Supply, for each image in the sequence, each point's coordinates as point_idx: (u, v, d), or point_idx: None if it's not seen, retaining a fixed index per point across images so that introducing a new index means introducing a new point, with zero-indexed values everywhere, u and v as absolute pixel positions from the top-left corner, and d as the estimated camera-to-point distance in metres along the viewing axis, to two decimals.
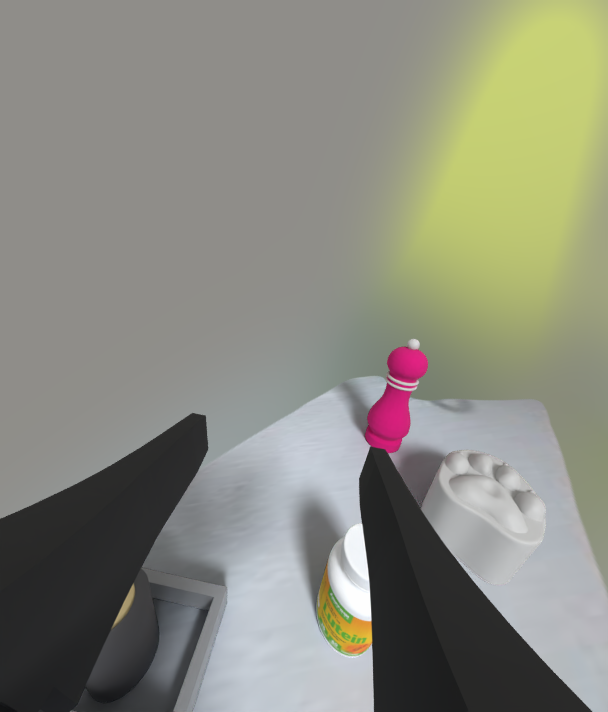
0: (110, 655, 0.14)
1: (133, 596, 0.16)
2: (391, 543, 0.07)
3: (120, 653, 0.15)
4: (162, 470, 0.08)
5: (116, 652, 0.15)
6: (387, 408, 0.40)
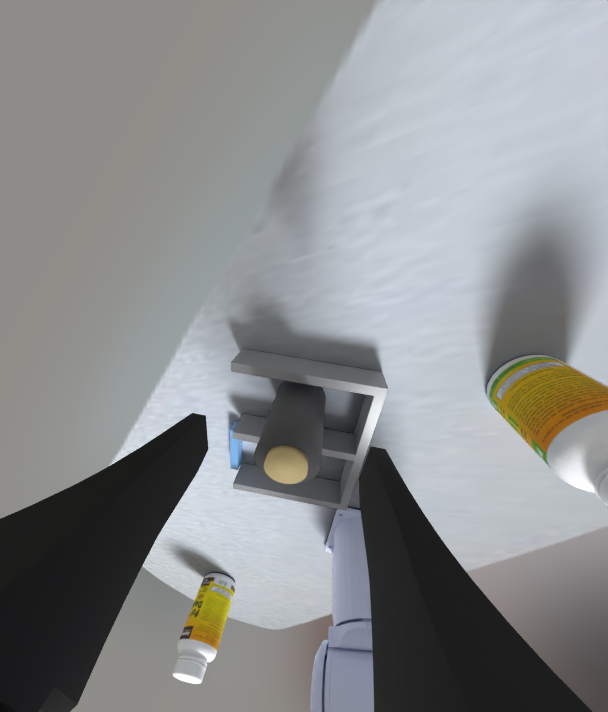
0: None
1: (307, 462, 0.15)
2: (391, 543, 0.07)
3: None
4: (162, 470, 0.08)
5: None
6: None
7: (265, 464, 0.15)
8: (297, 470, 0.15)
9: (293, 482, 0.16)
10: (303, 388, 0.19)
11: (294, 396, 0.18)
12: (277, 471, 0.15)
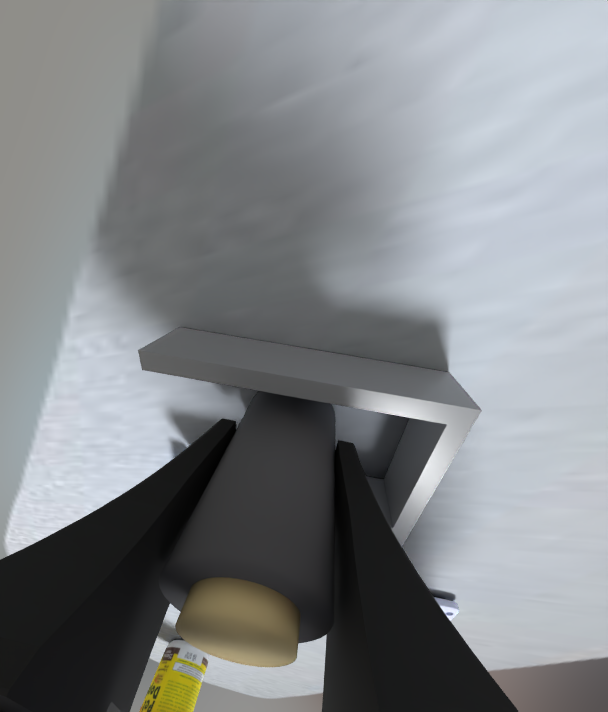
0: None
1: (295, 627, 0.05)
2: (344, 533, 0.07)
3: None
4: (201, 478, 0.08)
5: None
6: None
7: (179, 628, 0.05)
8: (268, 649, 0.05)
9: (260, 665, 0.06)
10: (294, 404, 0.10)
11: (273, 423, 0.09)
12: (214, 643, 0.06)
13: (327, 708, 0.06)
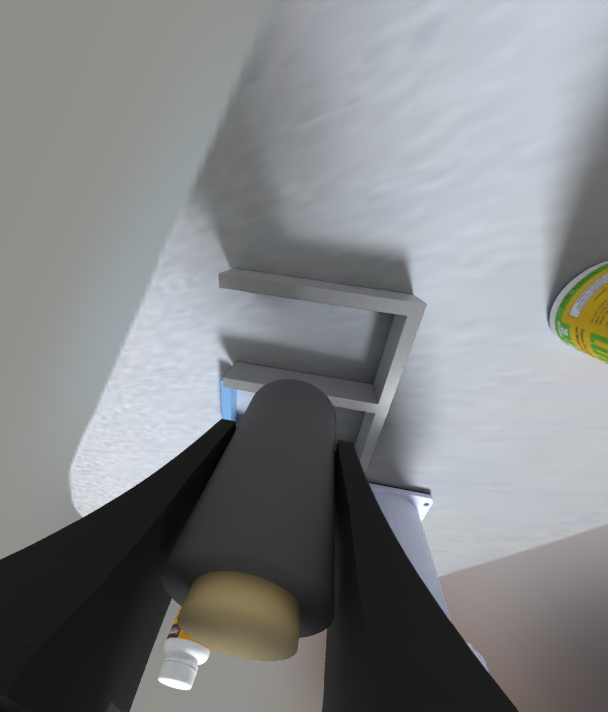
0: None
1: (296, 620, 0.05)
2: (344, 533, 0.07)
3: None
4: (200, 478, 0.08)
5: None
6: None
7: (181, 622, 0.05)
8: (269, 642, 0.05)
9: (261, 658, 0.06)
10: (294, 402, 0.10)
11: (274, 420, 0.09)
12: (216, 637, 0.06)
13: (327, 708, 0.06)
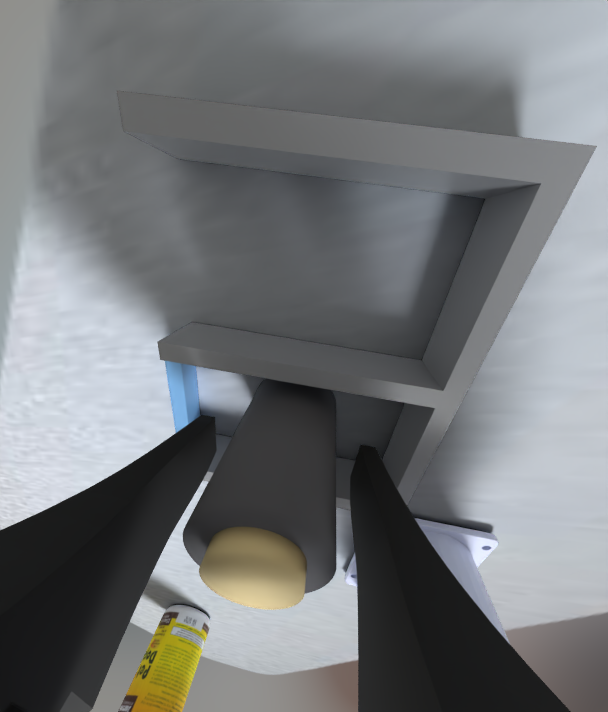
0: None
1: (303, 570, 0.06)
2: (377, 540, 0.07)
3: None
4: (174, 472, 0.08)
5: None
6: None
7: (202, 571, 0.06)
8: (279, 588, 0.06)
9: (271, 607, 0.07)
10: (298, 389, 0.11)
11: (280, 404, 0.10)
12: (232, 586, 0.06)
13: None
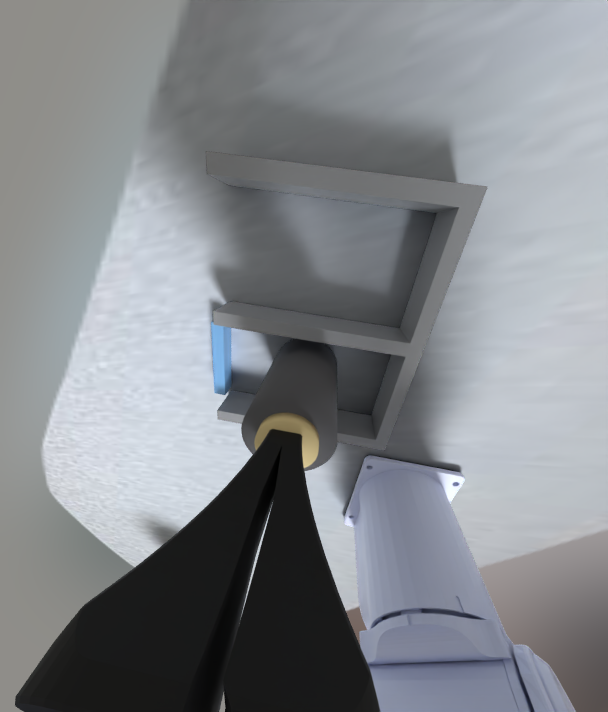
0: None
1: (317, 438, 0.10)
2: None
3: None
4: (266, 491, 0.08)
5: None
6: None
7: (256, 440, 0.10)
8: (303, 449, 0.10)
9: None
10: (310, 348, 0.15)
11: (298, 355, 0.14)
12: None
13: None
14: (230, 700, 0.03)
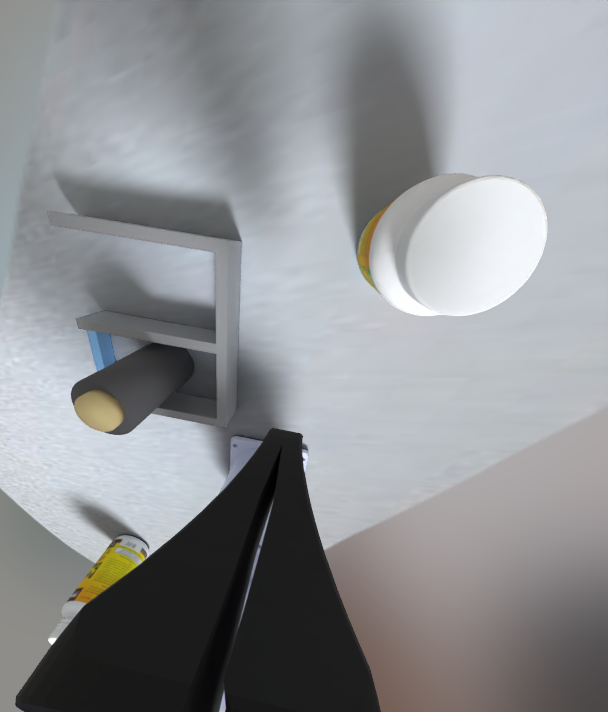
0: None
1: (117, 408, 0.15)
2: None
3: (148, 415, 0.17)
4: (266, 491, 0.08)
5: None
6: None
7: (76, 409, 0.15)
8: (107, 415, 0.15)
9: (108, 429, 0.15)
10: (157, 347, 0.19)
11: (140, 352, 0.18)
12: (89, 417, 0.15)
13: None
14: (230, 700, 0.03)
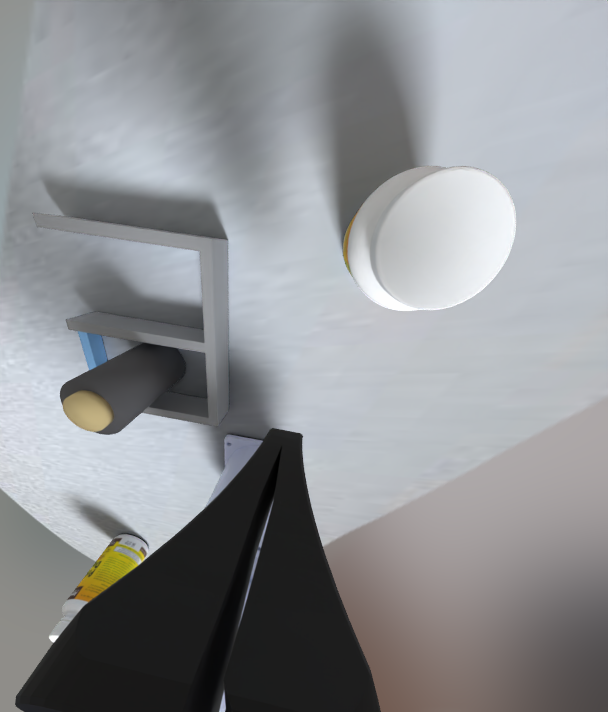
0: None
1: (106, 408, 0.15)
2: None
3: None
4: (266, 491, 0.08)
5: (133, 419, 0.17)
6: None
7: (64, 409, 0.15)
8: (95, 415, 0.15)
9: (98, 429, 0.16)
10: (148, 347, 0.20)
11: (130, 352, 0.18)
12: (78, 417, 0.15)
13: None
14: (230, 700, 0.03)
